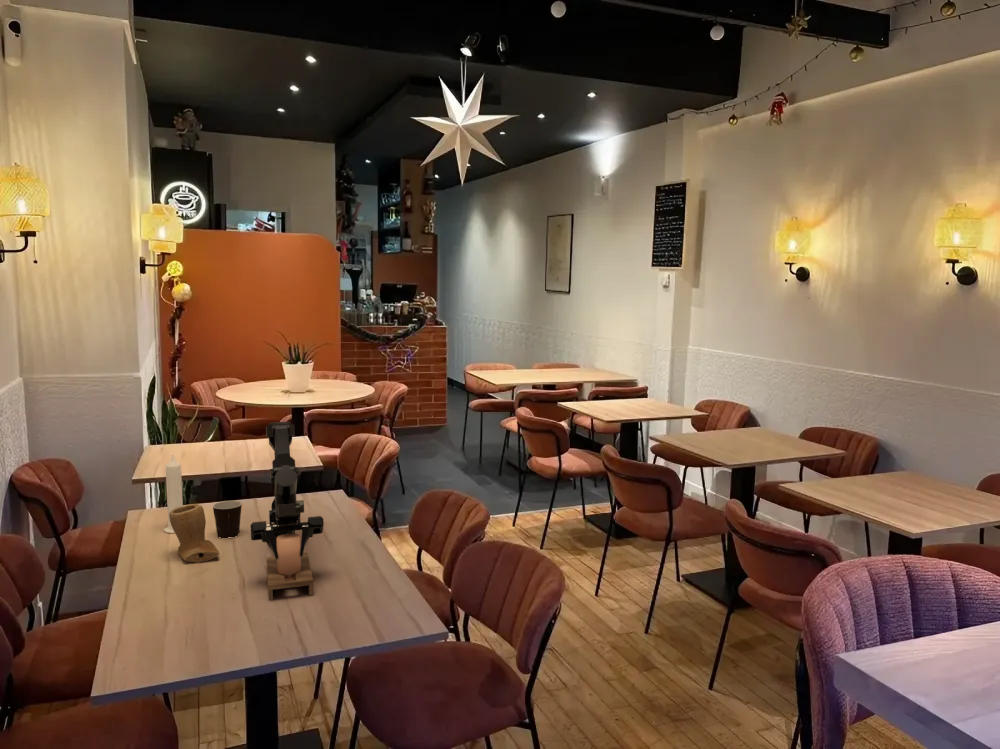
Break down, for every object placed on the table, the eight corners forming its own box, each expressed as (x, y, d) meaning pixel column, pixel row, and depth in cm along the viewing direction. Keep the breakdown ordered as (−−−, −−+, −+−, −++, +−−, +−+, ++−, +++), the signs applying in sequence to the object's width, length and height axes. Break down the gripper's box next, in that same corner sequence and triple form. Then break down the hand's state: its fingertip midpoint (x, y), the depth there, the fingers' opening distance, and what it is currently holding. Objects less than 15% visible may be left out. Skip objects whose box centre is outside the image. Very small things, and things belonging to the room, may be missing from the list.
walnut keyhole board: (266, 570, 199) (266, 557, 199) (307, 566, 203) (307, 552, 202) (268, 600, 180) (268, 585, 180) (313, 595, 184) (313, 580, 184)
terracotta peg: (283, 574, 193) (282, 533, 191) (304, 575, 192) (303, 534, 191) (273, 583, 187) (272, 540, 185) (295, 584, 186) (294, 542, 185)
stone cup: (168, 551, 213) (166, 502, 211) (211, 544, 219) (209, 497, 217) (175, 568, 200) (173, 517, 198) (220, 560, 206) (218, 510, 204)
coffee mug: (220, 530, 231) (219, 500, 230) (247, 530, 231) (246, 501, 230) (205, 543, 220) (203, 511, 219) (232, 543, 220) (231, 512, 218)
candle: (180, 525, 236) (177, 451, 233) (192, 529, 232) (189, 454, 229) (159, 530, 230) (156, 455, 227) (171, 535, 226) (168, 458, 223)
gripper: (249, 493, 187) (251, 548, 178) (322, 487, 193) (327, 540, 184) (250, 513, 196) (251, 566, 187) (320, 506, 202) (324, 558, 193)
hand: (289, 557), depth 187 cm, fingers closed on terracotta peg, 6 cm apart
